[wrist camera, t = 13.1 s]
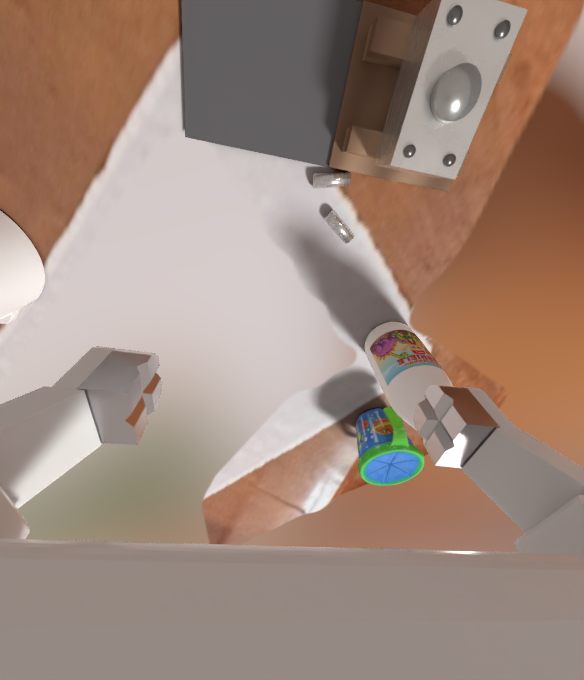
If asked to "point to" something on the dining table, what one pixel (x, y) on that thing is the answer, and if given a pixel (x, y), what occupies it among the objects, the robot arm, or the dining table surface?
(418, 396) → the milk bottle
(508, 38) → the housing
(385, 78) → the stand
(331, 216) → the pin
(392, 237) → the dining table surface
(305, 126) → the bench mat
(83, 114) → the dining table surface
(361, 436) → the snack cup
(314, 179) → the pin
